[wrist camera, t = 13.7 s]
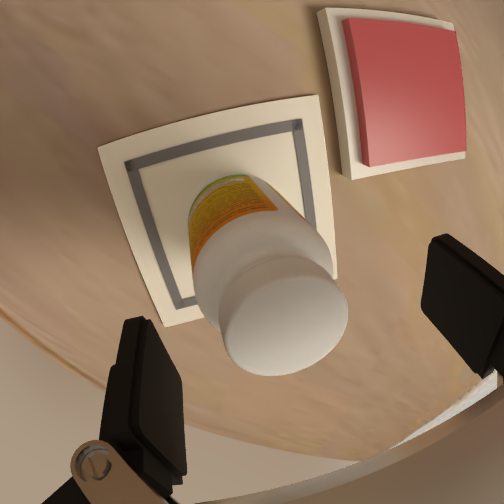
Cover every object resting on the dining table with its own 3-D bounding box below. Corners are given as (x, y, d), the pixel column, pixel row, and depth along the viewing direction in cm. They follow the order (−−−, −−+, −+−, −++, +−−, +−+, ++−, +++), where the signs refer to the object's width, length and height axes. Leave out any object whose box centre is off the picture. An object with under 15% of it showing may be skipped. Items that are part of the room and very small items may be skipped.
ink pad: (441, 24, 14) (460, 22, 13) (454, 154, 19) (472, 161, 17) (316, 12, 13) (331, 4, 12) (342, 175, 18) (358, 183, 16)
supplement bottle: (175, 248, 18) (178, 381, 9) (206, 157, 16) (239, 228, 7) (260, 270, 20) (318, 394, 11) (296, 190, 18) (397, 278, 9)
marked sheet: (315, 94, 16) (318, 94, 15) (335, 276, 21) (337, 279, 21) (98, 146, 15) (96, 147, 14) (164, 324, 20) (164, 328, 20)
